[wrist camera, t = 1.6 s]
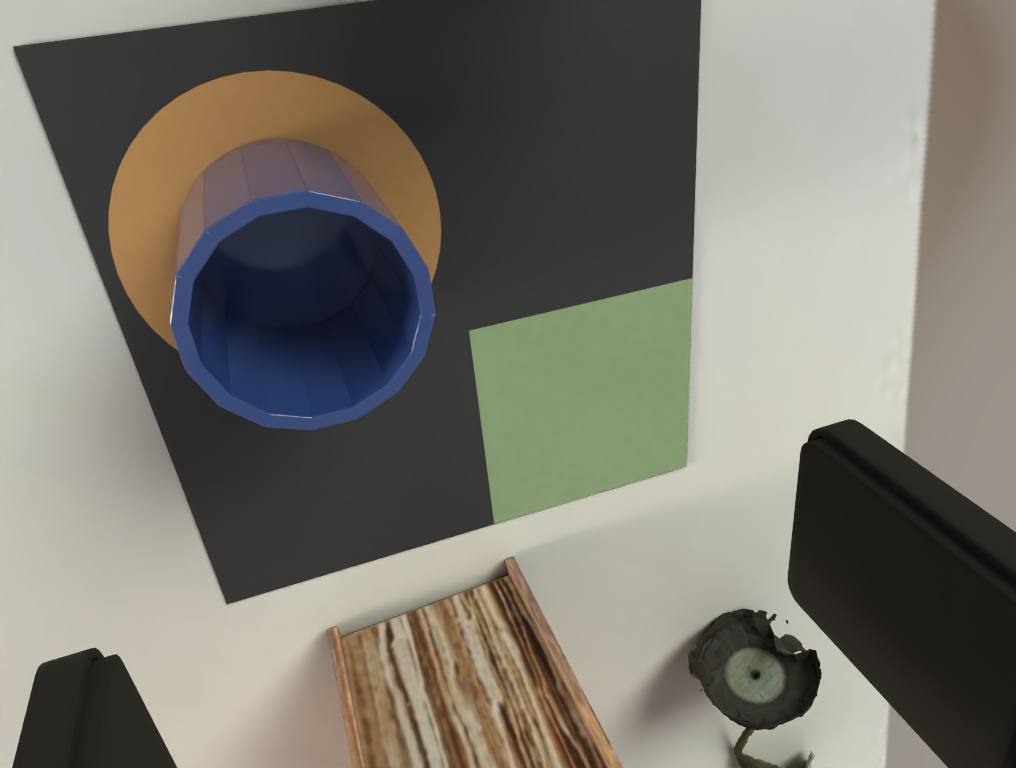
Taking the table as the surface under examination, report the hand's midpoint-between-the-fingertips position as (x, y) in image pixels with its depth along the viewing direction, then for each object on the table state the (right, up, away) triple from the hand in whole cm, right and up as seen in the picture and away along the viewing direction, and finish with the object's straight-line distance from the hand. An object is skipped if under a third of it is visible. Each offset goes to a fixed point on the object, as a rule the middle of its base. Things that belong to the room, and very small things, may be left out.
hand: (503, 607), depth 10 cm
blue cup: (-8, +8, +16) cm, 20 cm away
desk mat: (-3, +6, +20) cm, 21 cm away
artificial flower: (+16, -19, +41) cm, 48 cm away
